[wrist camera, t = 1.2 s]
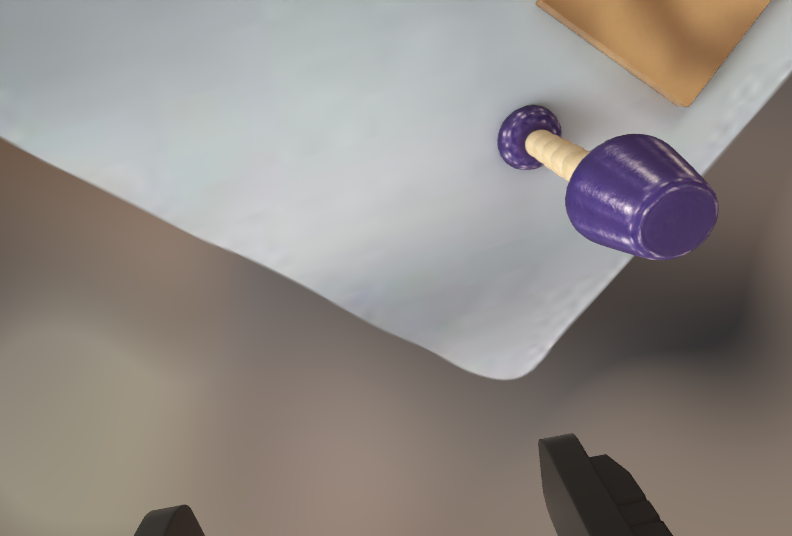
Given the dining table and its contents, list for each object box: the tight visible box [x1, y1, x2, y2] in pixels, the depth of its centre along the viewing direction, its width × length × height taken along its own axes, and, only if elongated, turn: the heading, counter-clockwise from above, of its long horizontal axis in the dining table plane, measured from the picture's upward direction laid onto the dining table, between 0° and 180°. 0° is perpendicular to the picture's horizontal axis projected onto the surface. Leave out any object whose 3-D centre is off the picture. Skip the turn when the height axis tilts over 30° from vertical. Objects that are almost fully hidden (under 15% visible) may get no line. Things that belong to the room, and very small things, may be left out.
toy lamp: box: [498, 105, 719, 260], centre depth 22 cm, size 5×5×17 cm
